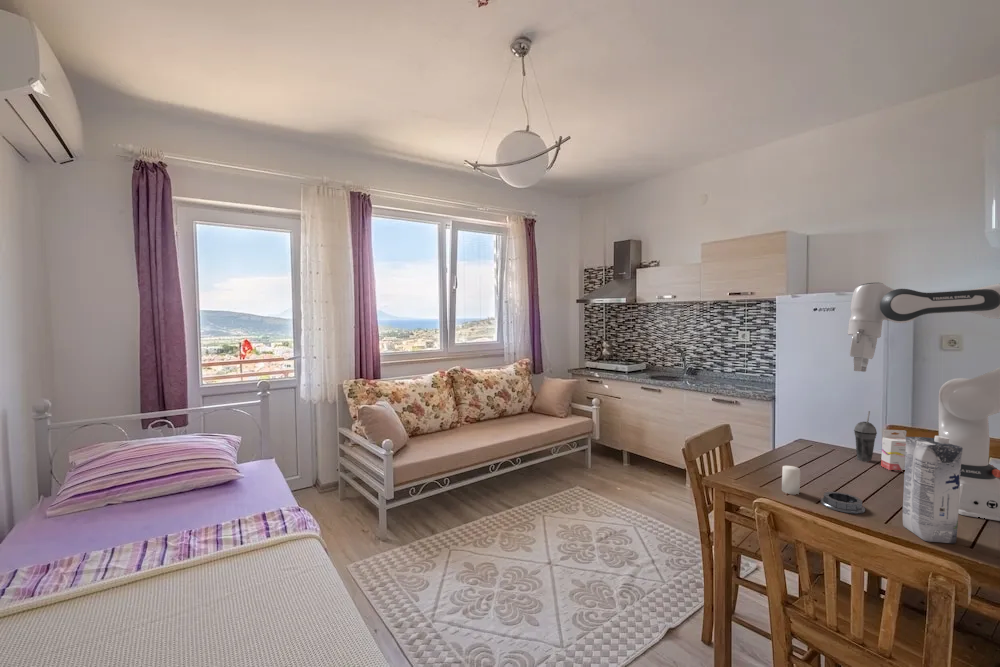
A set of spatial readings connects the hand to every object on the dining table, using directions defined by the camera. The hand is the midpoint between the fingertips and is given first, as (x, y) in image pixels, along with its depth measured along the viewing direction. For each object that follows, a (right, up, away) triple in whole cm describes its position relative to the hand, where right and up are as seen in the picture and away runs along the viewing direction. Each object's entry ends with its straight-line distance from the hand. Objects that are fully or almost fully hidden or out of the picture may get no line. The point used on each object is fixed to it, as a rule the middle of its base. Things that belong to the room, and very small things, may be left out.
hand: (859, 371), depth 155 cm
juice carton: (-7, -42, -32) cm, 53 cm away
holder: (-16, -41, -14) cm, 46 cm away
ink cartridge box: (+29, -39, +19) cm, 52 cm away
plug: (-25, -40, -2) cm, 47 cm away
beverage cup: (+25, -39, +30) cm, 55 cm away
